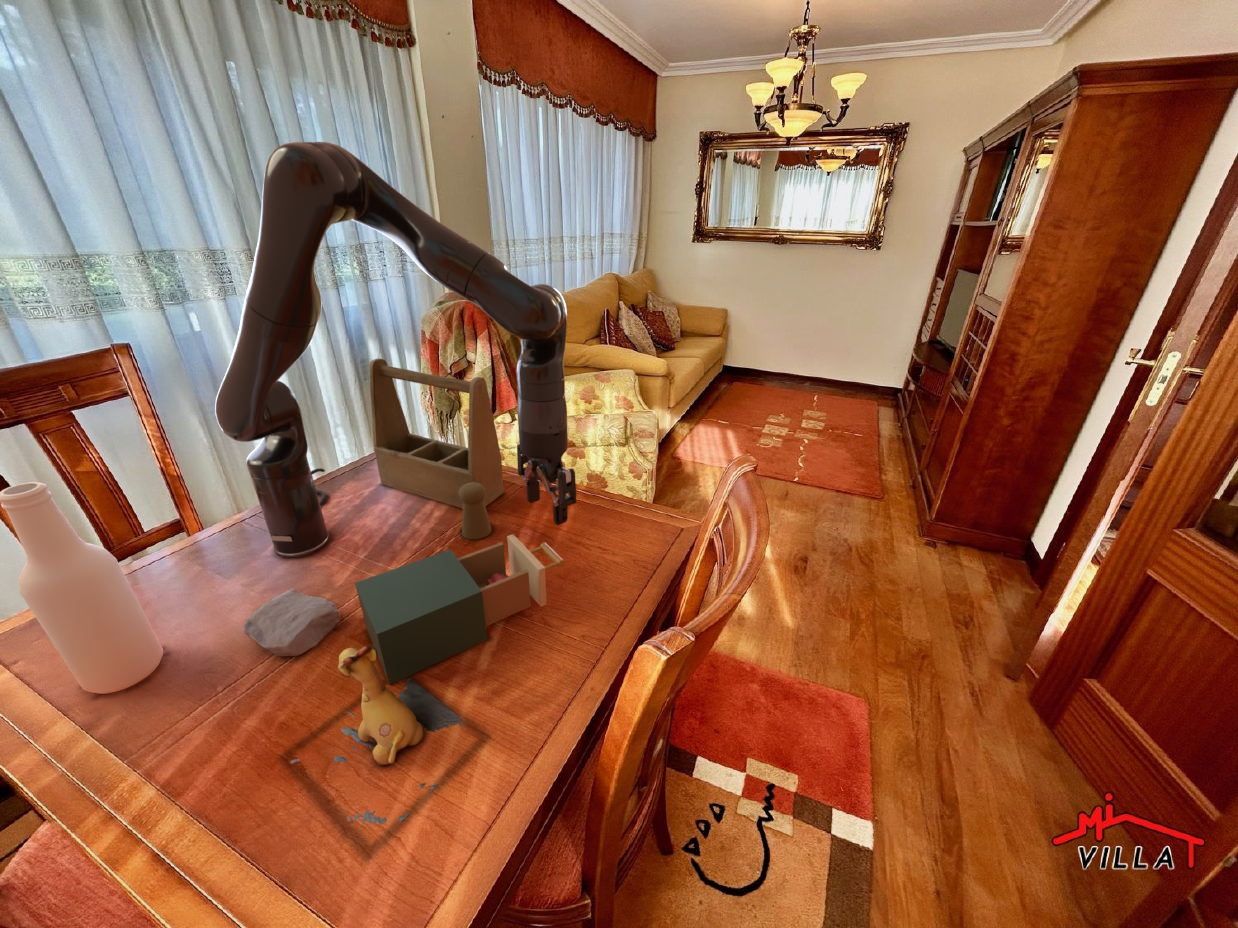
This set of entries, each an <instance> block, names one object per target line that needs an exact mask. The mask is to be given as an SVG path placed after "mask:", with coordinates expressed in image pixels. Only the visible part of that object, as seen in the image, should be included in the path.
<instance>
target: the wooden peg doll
mask: <svg viewBox="0 0 1238 928" xmlns="http://www.w3.org/2000/svg"><path fill="white" fill-rule="evenodd" d="M459 497H460V499H461V501H462V502H463V509H462V513H461V515H462V516H461V517H462V518H461V522H462V523H461V535H462V537H463V538H465V539H469V540H481V539H484V538H486V537H487V536H489V535H490V534H491V532H492V526H491V523H490V518H489V515H488V511H487V506H486V507H485V503H484V498H485V488H484V487H483V486H482V484H480V483H476V482H471V483H467V484H464V485H463V486H462V487H461V488H460V490H459Z"/></svg>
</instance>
